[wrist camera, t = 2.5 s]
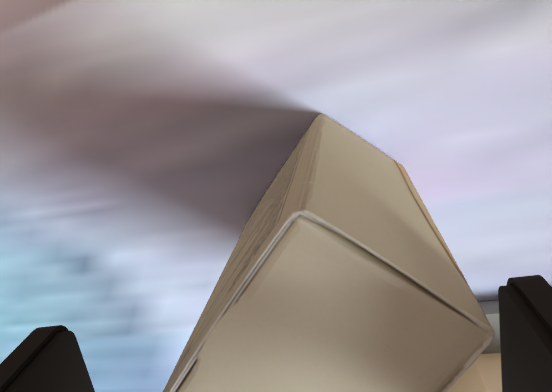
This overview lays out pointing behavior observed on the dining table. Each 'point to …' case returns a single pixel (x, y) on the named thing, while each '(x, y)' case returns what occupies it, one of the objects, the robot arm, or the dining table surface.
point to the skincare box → (336, 285)
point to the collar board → (484, 360)
